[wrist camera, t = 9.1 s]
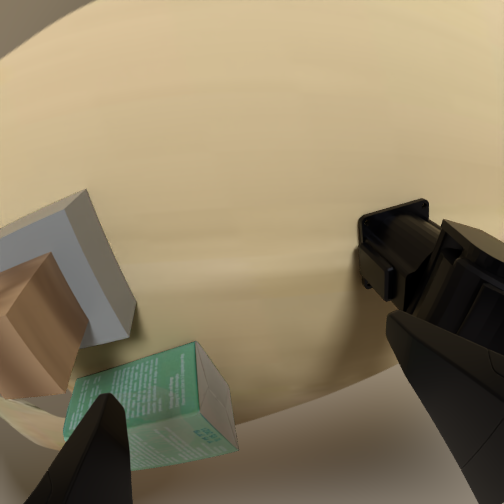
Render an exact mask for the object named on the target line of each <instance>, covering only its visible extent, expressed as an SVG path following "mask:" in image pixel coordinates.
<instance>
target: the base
mask: <svg viewBox="0 0 504 504" xmlns="http://www.w3.org/2000/svg"><path fill="white" fill-rule="evenodd" d="M49 252H52V254H53V256H54V258H55V260H56V262H57V264H58V266H59V268H60V270H61V272H62V274H63V276H64V277H65V279H66V281H67V283H68V285H69V287H70V288H71V290H72V292H73V294H74V296H75V297H76V299H77V301H78V302H79V304H80V306H81V308H82V309H83V311H84V313H85V314H86V316H87V318H88V319H89V321H88V324H87V327H86V330H85V333H84V336H83V338H82V341H81V344H80V347H79V349H82V348H86V347H91V346H95V345H99V344H104V343H108V342H112V341H117V340H121V339H125V338H129V336H130V331H131V326H132V321H133V316H134V311H135V306H136V300H135V298H134V296H133V294H132V292H131V290H130V288H129V286H128V284H127V282H126V280H125V278H124V276H123V274H122V272H121V269H120V267H119V265H118V263H117V261H116V259H115V257H114V254H113V252H112V250H111V248H110V245H109V243H108V241H107V239H106V236H105V234H104V232H103V229H102V227H101V225H100V222H99V220H98V217H97V215H96V212H95V210H94V207H93V205H92V202H91V200H90V197H89V195H88V192H87V189H85V190H82V191H80V192H77V193H75V194H73V195H70V196H68V197H66V198H63V199H61V200H59V201H56V202H54V203H52V204H50V205H48V206H45V207H43V208H41V209H39V210H37V211H35V212H33V213H30V214H28V215H26V216H24V217H22V218H20V219H18V220H16V221H14V222H12V223H10V224H8V225H6V226H4V227H2V228H0V272H2V271H5V270H7V269H9V268H12V267H14V266H17V265H19V264H21V263H24V262H26V261H29V260H31V259H34V258H36V257H38V256H41V255H44V254H46V253H49Z"/></svg>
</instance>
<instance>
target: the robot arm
mask: <svg viewBox="0 0 504 504" xmlns="http://www.w3.org/2000/svg"><path fill="white" fill-rule="evenodd" d="M423 203H424V205H423ZM422 205H423V207H422ZM366 220H368V222H367V223H366V224H364V223H365V221H366ZM359 229H360V245H359V262H360V273H361V275H362V282H363V285H364V287H365V288H366V289H370V288H374V289H375V291H376V292H377V293H378V294H379V295H380V296H381V297H382V299H383V300H385V301H386V302H387V301H390V300H391V301H392V302H393V303H394V305H395V306H396V307H397V308H398V309H399V310H396V311H393V312H391V313H389V314H388V315H387V320H386V337H387V339H388V341H389V343H390V345H391V348H392V350H393V352H394V354H395V356H396V358H397V360H398V362H399V364H400V366H401V368H402V370H403V372H404V374H405V376H406V378H407V379H408V381H409V383H410V384H411V386H412V387H413V389H414V390H415V392H416V394H417V395H418V397H419V398H420V400H421V402H422V404H423V405H424V407H425V408H426V410H427V412H428V413H429V415H430V417H431V418H432V420H433V422H434V423H435V425H436V427H437V428H438V430H439V432H440V434H441V435H442V437H443V439H444V440H445V442H446V444H447V446H448V447H449V449H450V451H451V453H452V454H453V456H454V458H455V460H456V462H457V463H458V465H459V467H460V469H461V471H462V473H463V474H464V476H465V478H466V480H467V482H468V484H469V486H470V488H471V490H472V492H473V493H474V495H475V497H476V499H477V501H478V503H479V504H502V503H503V502H504V243H503V242H502V241H500V240H498V239H496V238H495V237H493V236H491V235H489V234H488V233H486V232H484V231H482V230H480V229H476V228H473V227H470V226H466V225H463V224H460V223H456V222H453V221H449V220H446V219H443V221H442V224H441V227H440V226H439V225H437V224H436V223H434V222H433V221H431V220H429V202H428V201H427V200H425V199H423V198H421V199H418V200H414V201H411V202H407V203H404V204H400V205H397V206H393V207H390V208H386V209H383V210H379V211H376V212H372V213H369V214H365V215H363V216H362V217H361V218H360V220H359ZM24 504H133V501H132V486H131V465H130V448H129V440H128V432H127V423H126V414H125V410H124V407H123V406H122V405H121V403H120V402H119V401H118V400H117V399H116V398H115V396H114V395H113V394H112V393H102V394H99V395H98V397H97V398H96V399H95V401H94V402H93V404H92V405H91V406H90V408H89V409H88V411H87V412H86V414H85V415H84V417H83V418H82V419H81V421H80V422H79V424H78V425H77V427H76V428H75V430H74V431H73V433H72V434H71V436H70V437H69V438H68V440H67V441H66V443H65V444H64V446H63V447H62V449H61V450H60V452H59V453H58V455H57V456H56V458H55V460H54V461H53V462H52V464H51V466H50V467H49V469H48V471H47V472H46V473H45V475H44V476H43V478H42V479H41V481H40V482H39V484H38V485H37V487H36V488H35V489H34V491H33V492H32V493H31V495H30V496H29V497H28V499H27V500H26V501H25V503H24Z"/></svg>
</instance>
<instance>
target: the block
mask: <svg viewBox="0 0 504 504" xmlns="http://www.w3.org/2000/svg"><path fill="white" fill-rule="evenodd" d="M88 321H89V319H88V318H87V316H86V314H85V313H84V311H83V309H82V308H81V306H80V304H79V302H78V301H77V299H76V297H75V296H74V294H73V292H72V290H71V288H70V287H69V285H68V283H67V281H66V279H65V277H64V276H63V274H62V272H61V270H60V268H59V266H58V264H57V262H56V260H55V258H54V256H53V254H52V252H49V253H46V254H44V255H41V256H38V257H36V258H34V259H31V260H29V261H26V262H24V263H21V264H19V265H17V266H14V267H12V268H9V269H7V270H5V271H2V272H0V394H1V395H2V396H3V397H4V398H5V399H16V398H27V397H38V396H48V395H56V394H64V393H66V389H67V386H68V382H69V379H70V376H71V372H72V369H73V366H74V363H75V360H76V356H77V353H78V350H79V347H80V344H81V341H82V338H83V336H84V333H85V330H86V327H87V324H88Z"/></svg>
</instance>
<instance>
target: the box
mask: <svg viewBox="0 0 504 504" xmlns="http://www.w3.org/2000/svg"><path fill="white" fill-rule="evenodd" d="M102 393H112V394H113V395H114V396H115V398H116V399H117V400H118V401H119V402H120V403H121V405H122V406H123V407H124V410H125V414H126V423H127V432H128V440H129V448H130V465H131V471H133V470H141V469H148V468H155V467H162V466H168V465H174V464H180V463H185V462H190V461H195V460H200V459H204V458H210V457H214V456H219V455H224V454H227V453H232V452H235V451H239V448H238V441H237V435H236V430H235V423H234V416H233V410H232V403H231V396H230V389H229V386H228V384H227V383H226V381H225V380H224V378H223V377H222V376H221V374H220V373H219V371H218V370H217V368H216V367H215V365H214V364H213V362H212V361H211V360H210V358H209V357H208V355H207V354H206V352H205V351H204V350H203V348H202V347H201V346H200V344H199V343H198V342H196V341H194V342H191V343H188V344H185V345H182V346H179V347H176V348H173V349H170V350H167V351H164V352H161V353H158V354H154V355H151V356H148V357H145V358H142V359H139V360H136V361H133V362H130V363H127V364H124V365H121V366H118V367H115V368H112V369H109V370H105V371H102V372H99V373H96V374H92V375H89V376H85V377H82V378H78V379H77V380H76V383H75V386H74V390H73V394H72V398H71V400H70V403H69V406H68V409H67V414H66V419H65V423H64V428H63V435H64V440H65V441H67V440H68V438H69V437H70V436H71V434H72V433H73V431H74V430H75V428H76V427H77V425H78V424H79V422H80V421H81V419H82V418H83V417H84V415H85V414H86V412H87V411H88V409H89V408H90V406H91V405H92V404H93V402H94V401H95V399H96V398H97V397H98V395H99V394H102Z"/></svg>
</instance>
